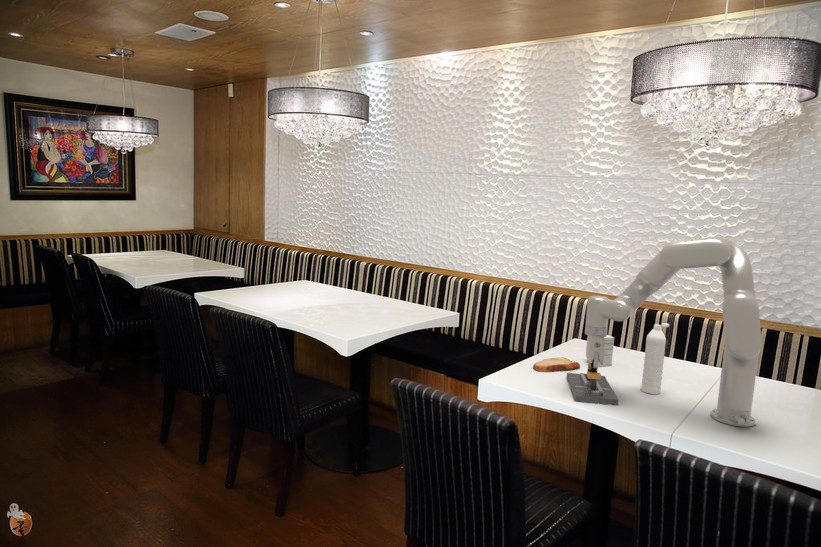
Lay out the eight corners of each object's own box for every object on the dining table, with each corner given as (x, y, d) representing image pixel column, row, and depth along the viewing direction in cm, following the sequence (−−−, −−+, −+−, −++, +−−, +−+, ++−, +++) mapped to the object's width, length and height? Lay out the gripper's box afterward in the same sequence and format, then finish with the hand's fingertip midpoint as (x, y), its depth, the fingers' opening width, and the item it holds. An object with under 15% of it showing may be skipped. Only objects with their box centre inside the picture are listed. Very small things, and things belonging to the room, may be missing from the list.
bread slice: (531, 371, 225) (532, 362, 224) (536, 360, 242) (537, 351, 241) (578, 378, 219) (579, 368, 218) (580, 365, 236) (581, 357, 235)
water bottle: (651, 395, 202) (659, 327, 198) (637, 389, 207) (644, 323, 204) (668, 392, 206) (675, 325, 202) (653, 386, 211) (660, 321, 208)
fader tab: (599, 390, 198) (601, 375, 197) (587, 389, 198) (588, 374, 198) (598, 387, 201) (600, 372, 200) (585, 386, 201) (587, 371, 200)
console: (617, 405, 190) (618, 396, 190) (575, 401, 192) (575, 392, 192) (604, 381, 216) (604, 372, 215) (566, 377, 218) (567, 369, 217)
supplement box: (586, 362, 240) (588, 333, 239) (601, 361, 243) (603, 332, 241) (597, 367, 233) (599, 337, 232) (612, 366, 236) (614, 337, 234)
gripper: (611, 336, 193) (606, 388, 195) (603, 326, 207) (598, 374, 210) (588, 334, 194) (583, 386, 196) (582, 325, 208) (578, 373, 211)
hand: (591, 380), depth 203 cm, fingers closed
